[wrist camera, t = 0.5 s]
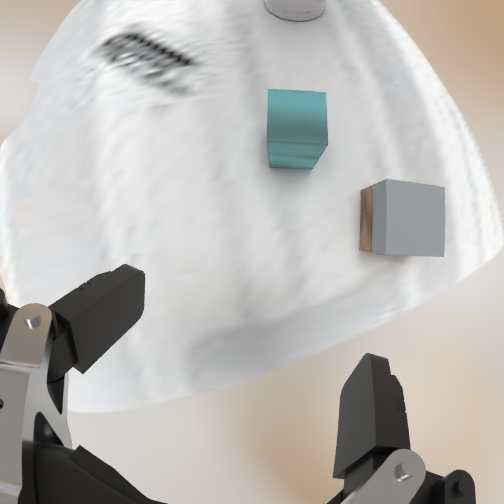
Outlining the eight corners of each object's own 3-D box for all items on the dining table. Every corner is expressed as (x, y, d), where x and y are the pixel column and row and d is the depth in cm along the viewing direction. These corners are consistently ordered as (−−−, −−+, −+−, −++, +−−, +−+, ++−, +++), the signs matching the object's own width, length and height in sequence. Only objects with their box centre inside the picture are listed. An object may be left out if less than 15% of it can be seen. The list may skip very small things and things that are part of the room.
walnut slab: (360, 190, 31) (371, 185, 27) (410, 195, 30) (425, 192, 26) (359, 249, 31) (370, 251, 27) (409, 251, 31) (424, 254, 27)
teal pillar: (270, 127, 31) (268, 89, 21) (312, 129, 30) (325, 92, 20) (269, 167, 31) (267, 140, 21) (312, 169, 31) (327, 144, 21)
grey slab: (372, 185, 27) (386, 179, 23) (426, 191, 26) (444, 187, 22) (371, 251, 27) (385, 255, 23) (425, 253, 27) (443, 256, 23)
